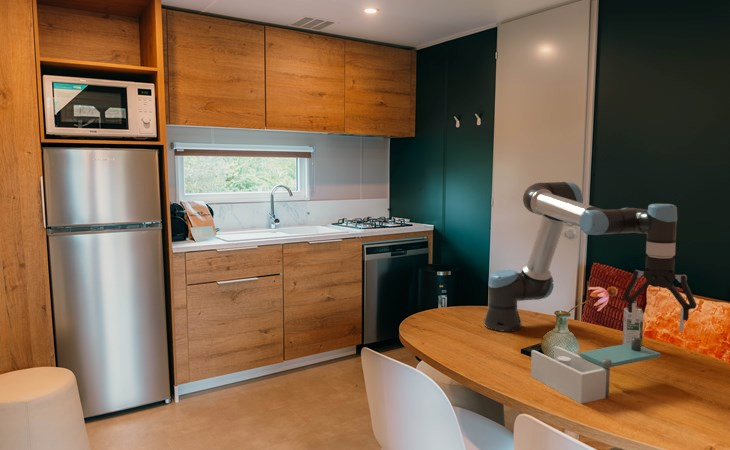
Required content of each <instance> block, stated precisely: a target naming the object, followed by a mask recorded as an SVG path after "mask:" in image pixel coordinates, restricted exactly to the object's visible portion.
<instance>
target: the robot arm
mask: <svg viewBox="0 0 730 450" xmlns="http://www.w3.org/2000/svg"><path fill="white" fill-rule="evenodd" d="M583 202H584V199H583V193H582V190H581V189H580V187H579V185H577V184H576V183H574V182H571V181H570V182H569V181H561V182H559V181H555V182H554V181H553V182H535V183H533V184H530V186H529V187H527V189H526V190H525V191H524V193H523V196H522V203H523V206H524V207H525V208H526V210H527V211H528V212H530V213H532V214H536V215H538V216H542V217H541V220H540V223H539V226H538V230H537V233H536V237H535V239H534V243H533V247H532V249H531V252H530V256H529V259H528V263H526V264H524V265H523V266H522V269H521V272H518V271H517V270H514V269H500V270H495V271H493V272H491V273H490V275H489V277H488V284H487V285H488V308H487V311H486V314H485V318H484V319H483V325H484V324H485V325H486V326H487V327H489V328H492V329H496V330H504V331H503V332H513V331H512V330H516V331H519V330H521V329H522V321H521V317H520V314H519V311H518V302H521V301H522V302H525V301H533V300H536V301H537V300H538V301H539V300H542V299H546V298H548V297H549V296H550V295H551V294H552V292H553V291H554V278H553V276H552V272H551V271H550V268H551V267H550V266H551V264H552V261H553V258H554V256H555V252H556V250H557V246H558V243H559V241H560V237H561V234H562V231H563V228H564V225H565V223H568V224H569V225H570V224H571V225H573V226H575V227H579V228H580V230H581V231H582V233H583V234H585V235H589V236H590V235H591V236H600V235H614V234H631V233H632V234H633V233H636V234H644V235H646V245H645V254H646V256H645V269H644V271H642V270H639V269H635V270H634V271H633V272H632V278H631V279H630V282H629V284H628V286H627V287H626V289H625V291H624V292H623V295H622V297H621V299H622V300H624V301H627V303H628V305H627V308H628V311H629V312H631V313H632V321H631V324H635V323H636V309H638V308H637V306H638V305H637V303H638V302H637V301H635V300H636V299H637V298H638V297H639V296H640V295H641V294H642V293H643V292H644V291H645V290H646V289H647V288H648V287H649V286H651V287H654V288H657V287H658V288H662V289H664V288H667V289H668V291H669V292H670V293H671V294H672V296H673V297H674V298H675V299H676V301H677V302H678V304H679V305H680V306H681V308H680V313H679V330H678V331H679V332H680V333H683V331H684V329H685V328H684V327H685V322H686V321H688V320H689V314H690V310H693V309H696V308H697V303H696V300H695V297H694V296H693V293H692V291H691V288H690V286H689V284H688V282H687V281H688V276H687V275H686V274H683V273H682V274H676V272H675V263H676V258H675V257H674V256H676V241H677V240H676V239H677V228H678V227H677V225H678V219H679V218H678V208H677V206H676V205H674V204H671V203H651V204H648V207H647V209H645V208H644V209H643V208H635V207H623V208H622V207H621V208H619V209H618V208H617V209H615V208H613V209H603V208H599V207H596V206H592V205H590V204H587V203H583ZM642 276H643V277H644V279H645V280H646V281H645V283H643V285H641V287H639V288H638V289H637V290H636V291H635V293H633V294H632V296H630V294H631V292H632V291H633V289H634V287H635V285H636V284H637V281H638V280H639V279H640V278H642ZM675 280H677V281H678V283H680V285H681V288H682V290H683V292H684V294H685V297H686V299H687V301H688V302H687V301H686V299H685V298H684V296H682V294H681V293H680V291H679V290H678V289H677V288H676V286H675V285H674V283H673V281H675ZM520 328H521V329H520ZM518 329H519V330H518Z"/></svg>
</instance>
